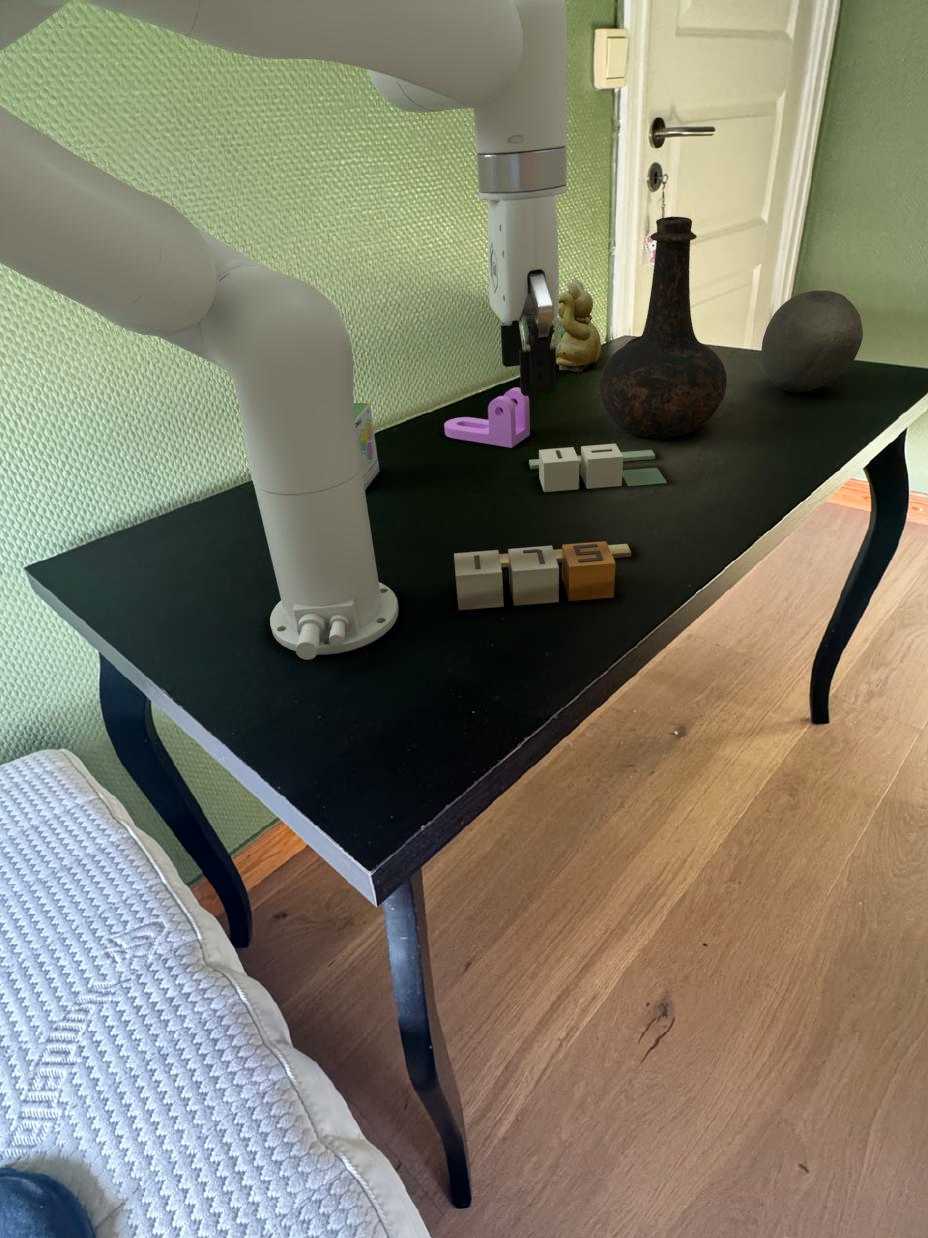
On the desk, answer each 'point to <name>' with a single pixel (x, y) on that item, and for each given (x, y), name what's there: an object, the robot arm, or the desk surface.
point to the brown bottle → (665, 353)
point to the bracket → (495, 422)
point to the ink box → (366, 442)
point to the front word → (512, 575)
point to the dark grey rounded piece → (811, 340)
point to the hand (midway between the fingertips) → (527, 378)
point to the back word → (592, 468)
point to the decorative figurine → (576, 330)
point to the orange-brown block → (588, 571)
